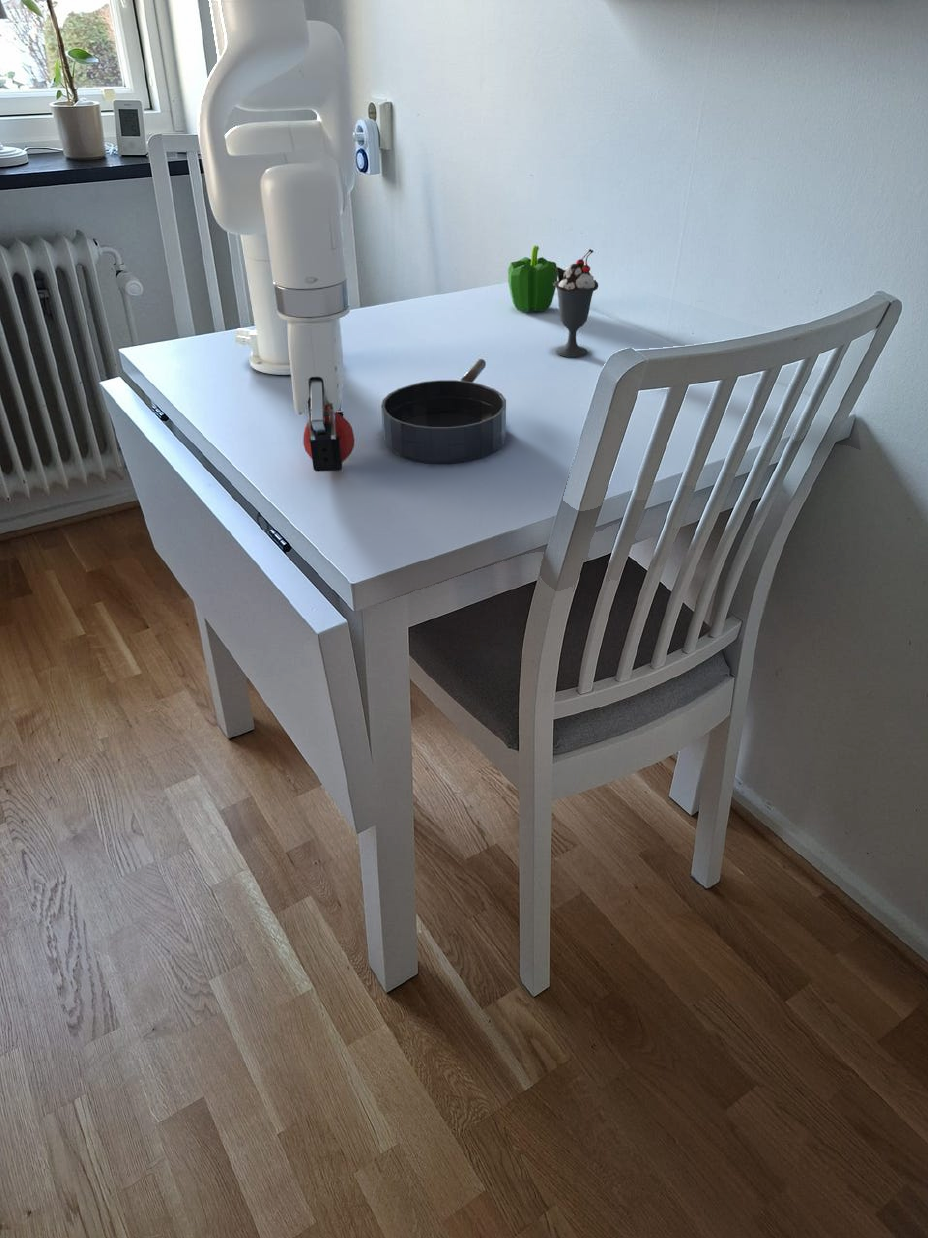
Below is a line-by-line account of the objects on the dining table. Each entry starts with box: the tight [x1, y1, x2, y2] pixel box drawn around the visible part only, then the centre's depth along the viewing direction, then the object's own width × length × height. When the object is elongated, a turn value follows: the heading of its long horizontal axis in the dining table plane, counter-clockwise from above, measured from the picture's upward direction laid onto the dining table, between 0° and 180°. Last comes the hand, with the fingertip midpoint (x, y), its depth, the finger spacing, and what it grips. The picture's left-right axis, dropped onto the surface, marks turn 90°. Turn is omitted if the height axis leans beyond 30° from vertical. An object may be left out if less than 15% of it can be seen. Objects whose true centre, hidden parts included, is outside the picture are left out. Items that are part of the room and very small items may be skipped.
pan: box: [380, 379, 507, 465], centre depth 107 cm, size 15×15×4 cm
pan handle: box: [459, 358, 487, 383], centre depth 115 cm, size 9×1×1 cm, turn 163°
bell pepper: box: [507, 245, 558, 313], centre depth 148 cm, size 8×8×10 cm
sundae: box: [553, 248, 599, 358], centre depth 129 cm, size 7×7×15 cm
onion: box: [302, 405, 355, 463], centre depth 99 cm, size 6×6×8 cm
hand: (330, 455), depth 101 cm, fingers closed on onion, 6 cm apart
